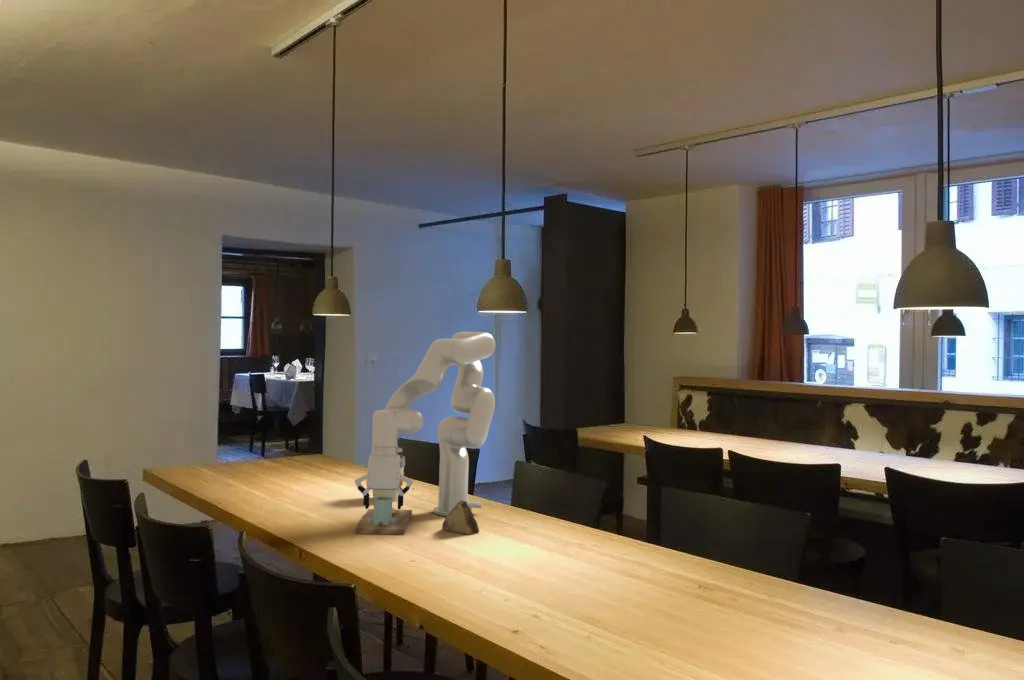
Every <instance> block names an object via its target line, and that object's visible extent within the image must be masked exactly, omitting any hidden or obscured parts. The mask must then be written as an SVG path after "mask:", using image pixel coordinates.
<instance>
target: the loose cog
mask: <svg viewBox="0 0 1024 680" xmlns="http://www.w3.org/2000/svg"><path fill="white" fill-rule="evenodd" d="M392 507H393V502H392V498H391V497H375V498H374V500H373V509H374V512H373V516H372V517H369V519H368V522H369V523H373V524H374V525H379V524H383V525H389V523H390V524H394V523H396V517H392Z"/></svg>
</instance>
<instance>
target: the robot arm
mask: <svg viewBox="0 0 1024 680" xmlns="http://www.w3.org/2000/svg"><path fill="white" fill-rule="evenodd" d="M495 349H496V341H495V338H494V336H493V335H492V334H490V333H489V332H485V331H460V332H456V333H454V334H453V335H452V336H451V338H438V339H436V340H434V341H433V342H431V344H430V346H429V347H428V350H427V351H426V353H425V354H424V357H423V359H422V361H421V362H420V364H419V366H418V368H417V369H416V372H414V375H413V376H412V377H411V378H409V379H408V380H407V381H405V382H404V383H403V384H402V385H401V386H399V387H398V389H396V390H395V392H394V393H393V394H392V395H391V397H390V398H389V400H388V402H386V403H387V404H386V405H385V408H384V409H379V410H375V411H374V412H373V414H372V434H371V435H372V437H371V438H372V441H371V443H372V446H371V454H370V455H369V458H368V463H367V470H366V471H367V472H366V473H365V475H363V476H360V477H358V478H356V479H355V480H354V483H355V486H356V488H357V490H358V491H359V492H360V493H361V494H362V496H363V506H365V508H364V509H366V510H368V509H370V508H369V507H370V491H371V490H372V489H375V490H396V491H397V492H398V493H399V496H398V501H397V510H402V509H401V508H402V507H403V506H404V495H405V494H406V493H407V492H409V490H410V488H411V486H412V485H413V483H414V480H413V479H410V478H409V477H407V476H405V475H404V476H403V475H402V474H401V460H400V454H399V453H402V452H403V447H400V446H399V445H398V438H399V437H398V434H416V433H417V432H419V431H420V430H421V429H422V428H423V427H424V416H423V415H422V413H421V412H420V411H418V410H417V409H414V408H409V406H410V405H412V403H413V402H414V401H416V400H418V399H419V398H421V397H423V396H425V395H428V394H430V393H433V392H434V391H436V390H437V389H439V387H440V385H441V382H442V381H443V380H444V379H443V378H444V377H445V375H446V374H447V371H448V370H449V368H450V366H458V371H457V377H456V380H455V384H454V385H453V386H454V387H453V390H452V393H451V399H450V408H451V409H452V411H454V412H456V413H459V414H462V415H463V414H464V415H468V417H464V416H456V415H454V416H452V415H451V416H447V417H444V418H443V419H441V421H440V422H439V424H438V427H437V438H438V443H439V445H438V446H439V475H438V477H439V482H438V501H437V503H438V504H437V505H438V506H435V507H434V508H433V513H434V514H436V515H438V516H443V517H446V516H447V515H448V514H449V512H450V511H451V510H452V509H453V508H454V507H455V505H456V504H457V503H458V502H460V501H461V500H463V501H465V502H466V503H467V505H468V506H469V508H470V509H471V511H472V512H473V509H481V508H482V502H481V501H480V502H479V501H476V500H475V501H471V500H469V496H468V493H469V462H470V459H469V453H468V450H467V448H468V449H478V448H481V447H482V446H483V445H484V444H485V442H486V440H487V437H488V434H489V431H490V428H491V427H490V426H491V423H492V419H493V417H494V412H495V409H496V408H495V407H496V398H495V395H494V392H493V391H492V390H491V389H490V388H488V387H485V386H482V384H483V383H482V382H483V378H484V367H483V364H482V362H481V361H482V360H484V359H485V360H486V359H488V358H489V357H491V356H492V355H493V353H494V352H495ZM401 480H403V483H406V485H405V487H404V488H402V486H400V485H401ZM363 481H366V482H365V483H366V488H365V487H364V486H363V485H362V482H363Z"/></svg>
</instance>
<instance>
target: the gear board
mask: <svg viewBox="0 0 1024 680" xmlns="http://www.w3.org/2000/svg"><path fill="white" fill-rule="evenodd" d="M373 512H374V508H367V510H366V512H365V514H363V517H362V518H361V520H360V521H359V523H358V524H357V525H356V527H355V532H354V533H355V535H356V534H358V535H362V534H363V535H366V534H367V535H405V533H406V530H407V528H408V525H409V523H410V521H411V518H412V515H413V510H412V509H395V507H393V506H392V517H396V523H394V524H390V523H389V525H383V524H379V525H374V524H373V523H369V522H368V519H369V517H372V516H373Z"/></svg>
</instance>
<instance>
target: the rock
mask: <svg viewBox="0 0 1024 680" xmlns="http://www.w3.org/2000/svg"><path fill="white" fill-rule="evenodd" d="M471 509H472V508H471ZM471 509H470V508H469V506H468V505H467V503H466V502H465V501H463V500H461V501H460V502H458V503H457V504H456V505H455V507H454V508H453V509H452V510H451V511H450V512H449V514H448V515H447V516H444V517H445V518H444V520H443V522H442V525H441V529H442V531H443V530H444V531H447V530H449V531H448V532H451V531H455V532H454V533H456V532H459V533H458V534H463V533H465V534H464V535H475V534H474V533H477V534H479V533H478V532H480V528H479V525H478V522H477V520H476V518H475V517H474V514H473V510H472V511H471ZM480 533H481V532H480Z"/></svg>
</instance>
